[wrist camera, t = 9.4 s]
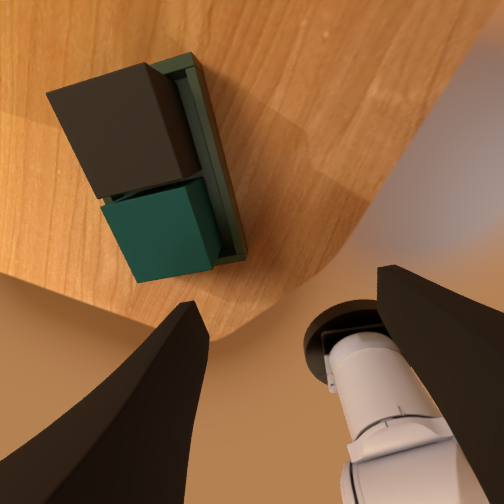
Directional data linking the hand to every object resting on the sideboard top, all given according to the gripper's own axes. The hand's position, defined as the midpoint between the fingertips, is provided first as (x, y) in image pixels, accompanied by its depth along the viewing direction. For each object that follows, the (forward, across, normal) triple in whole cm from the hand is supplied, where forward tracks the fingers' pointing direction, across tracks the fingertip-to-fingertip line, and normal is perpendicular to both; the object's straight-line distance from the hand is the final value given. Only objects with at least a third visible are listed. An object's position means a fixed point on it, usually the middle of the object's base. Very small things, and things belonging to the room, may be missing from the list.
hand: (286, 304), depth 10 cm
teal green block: (+9, +6, -2) cm, 11 cm away
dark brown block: (+10, +6, -7) cm, 14 cm away
